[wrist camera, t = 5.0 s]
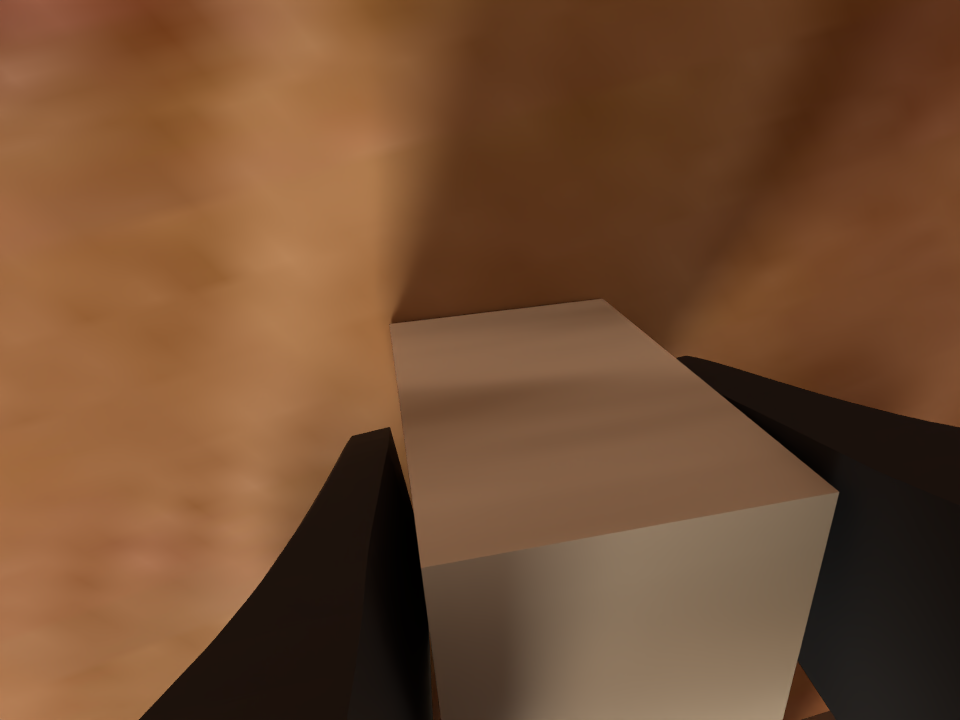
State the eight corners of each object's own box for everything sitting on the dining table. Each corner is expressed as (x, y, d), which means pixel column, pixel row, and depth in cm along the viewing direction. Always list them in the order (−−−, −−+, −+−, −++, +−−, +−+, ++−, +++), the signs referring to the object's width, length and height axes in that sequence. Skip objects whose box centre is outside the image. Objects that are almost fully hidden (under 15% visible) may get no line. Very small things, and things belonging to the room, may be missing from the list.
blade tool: (587, 759, 17) (695, 1070, 11) (450, 791, 16) (496, 1136, 11) (602, 298, 11) (839, 492, 6) (389, 324, 10) (420, 567, 5)
